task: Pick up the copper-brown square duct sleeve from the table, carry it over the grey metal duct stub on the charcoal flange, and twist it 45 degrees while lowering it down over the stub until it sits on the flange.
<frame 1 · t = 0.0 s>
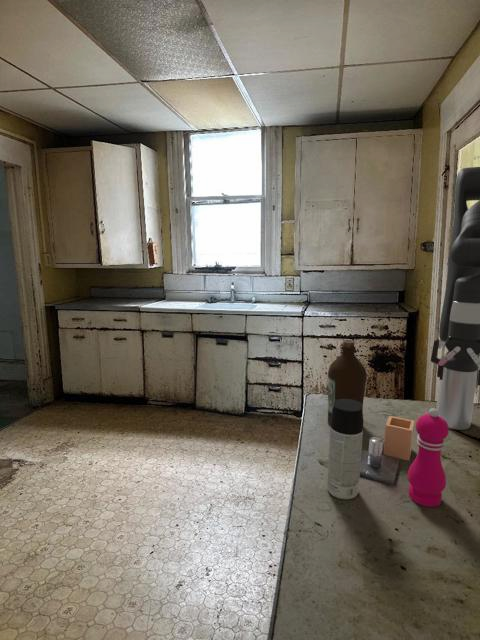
hand: (459, 381, 102), 17 cm above the countertop, tool pointing down, fingers open, 8 cm apart
pepper mill: (424, 498, 83), on the countertop
duct sleeve: (397, 452, 101), on the countertop
olive oil: (343, 424, 116), on the countertop
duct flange: (374, 467, 94), on the countertop
spray can: (342, 491, 85), on the countertop
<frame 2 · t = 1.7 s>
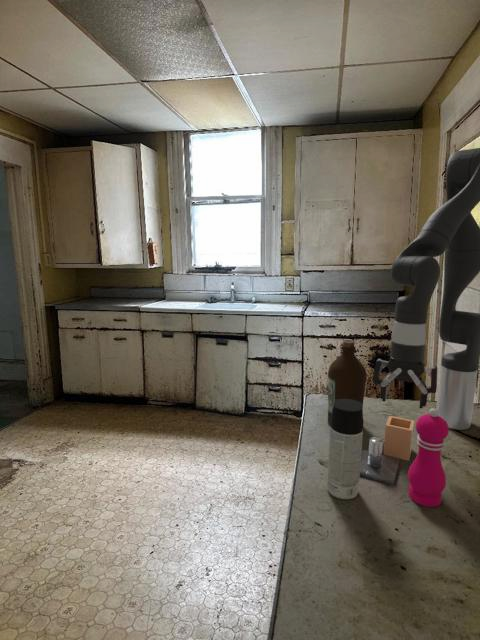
hand: (402, 403, 98), 13 cm above the countertop, tool pointing down, fingers open, 8 cm apart
nothing on the countertop moved.
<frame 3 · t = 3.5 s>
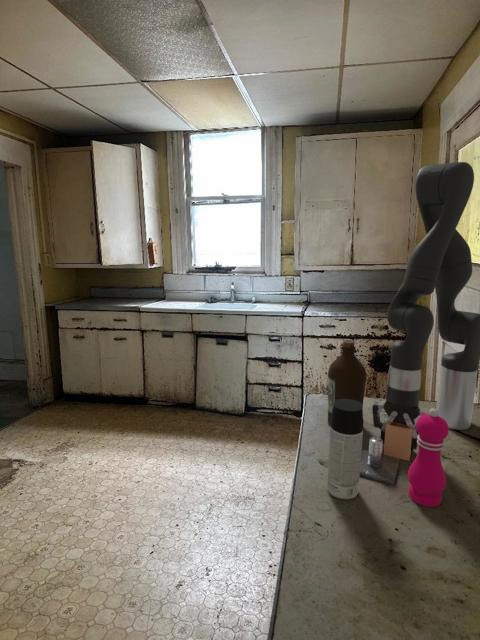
hand: (398, 446, 101), 2 cm above the countertop, tool pointing down, fingers closed on duct sleeve, 6 cm apart
duct sleeve: (397, 452, 101), on the countertop, touching gripper
everything else where it was.
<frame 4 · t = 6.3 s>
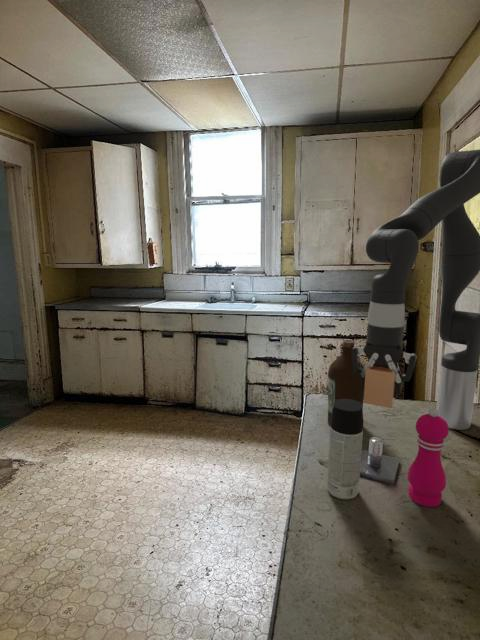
hand: (380, 394, 90), 18 cm above the countertop, tool pointing down, fingers closed on duct sleeve, 6 cm apart
duct sleeve: (379, 400, 91), point 17 cm above the countertop, touching gripper
everything else where it was.
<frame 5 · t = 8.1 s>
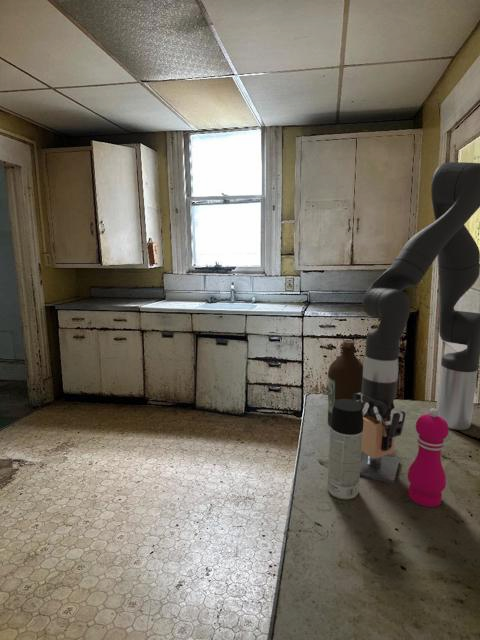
hand: (374, 443, 93), 6 cm above the countertop, tool pointing down, fingers closed on duct sleeve, 6 cm apart
duct sleeve: (373, 449, 93), point 5 cm above the countertop, touching gripper
everything else where it was.
when the fingers open (5 cm above the countertop, at t = 9.3 s): duct sleeve drops 2 cm, resting on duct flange.
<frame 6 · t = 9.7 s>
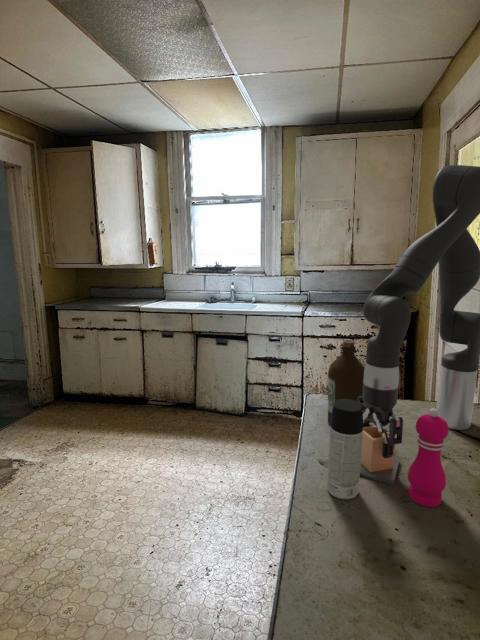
hand: (375, 447, 93), 5 cm above the countertop, tool pointing down, fingers open, 8 cm apart
duct sleeve: (373, 463, 94), point 1 cm above the countertop, touching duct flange
everything else where it was.
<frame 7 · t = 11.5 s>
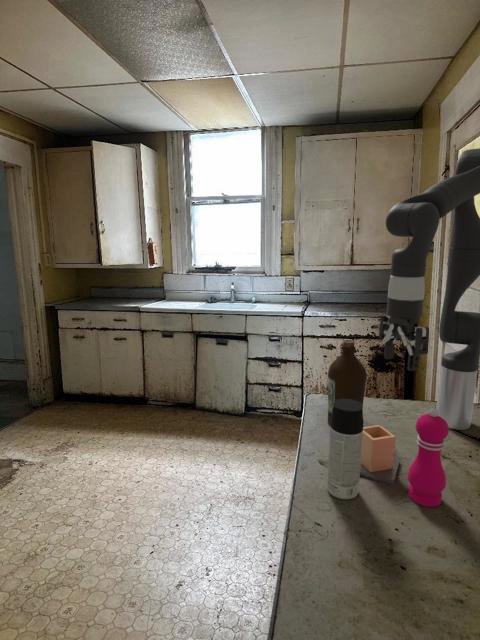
hand: (399, 364, 93), 25 cm above the countertop, tool pointing down, fingers open, 8 cm apart
nothing on the countertop moved.
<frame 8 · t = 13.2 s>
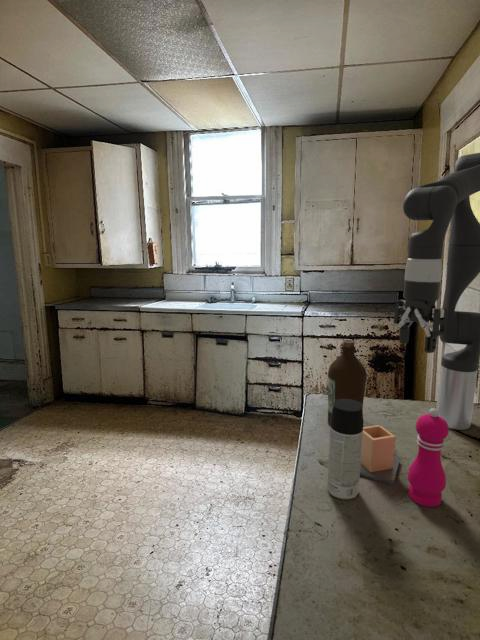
hand: (415, 347, 93), 28 cm above the countertop, tool pointing down, fingers open, 8 cm apart
nothing on the countertop moved.
at the end: duct sleeve 0.1 cm off-centre on the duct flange, point 1.0 cm above the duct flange's base; duct sleeve tilted 0°; the gripper is holding nothing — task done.
